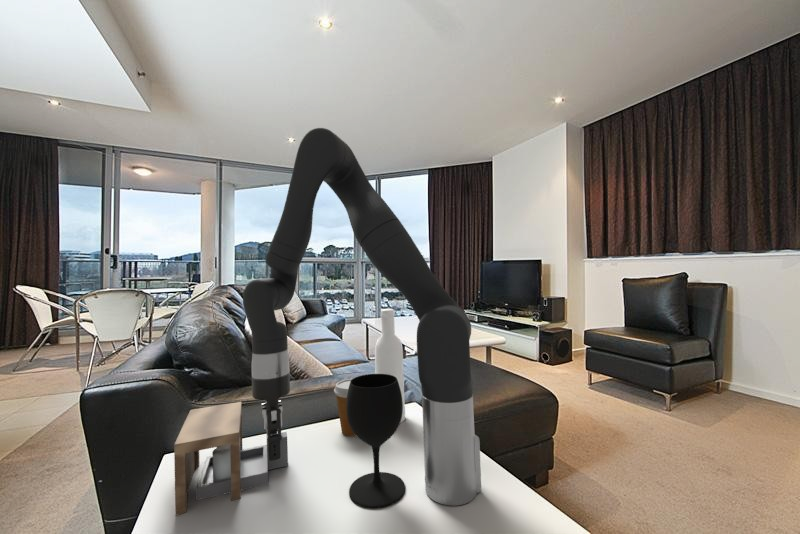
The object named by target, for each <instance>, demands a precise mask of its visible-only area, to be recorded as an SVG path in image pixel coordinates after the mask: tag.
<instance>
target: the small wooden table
mask: <svg viewBox="0 0 800 534" xmlns="http://www.w3.org/2000/svg"><path fill="white" fill-rule="evenodd" d="M242 408H243V407H242V401H237V402H231V403H223V404H218V405H212V406H205V407H200V408H194V409H190V410H189V413H188V415H187V416H186V419H185V420H184V422H183V425H182V426H181V429H180V431H179V433H178V436H177V438H176V439H175V440H176V441H175V442H174V444H173V445H174V447H173V449H174V450H173V451H174V452H173V453H174V457H173V458H174V460H173V461H174V503H175V506H174V508H175V509H174V512H175V516H178V515H177V514H179V515H182V514H186V513H187V510H188V491H189V488H190V486H191V481H192V477H193V476H194V471H195V468H199V466H200V451H202V450H208V449H211V448H212V449H213V448H217V447H218V446H223V445H228V444H230V459H231V492H230V496H231V497H230V499H231V501H236V500H240V499H241V496H242V495H241V493H242V490H241V479H240V450H243V417H242V416H243V412H242Z"/></svg>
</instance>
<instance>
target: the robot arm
mask: <svg viewBox="0 0 800 534" xmlns="http://www.w3.org/2000/svg"><path fill="white" fill-rule="evenodd" d="M292 168H293V169H292V174H291V178H290V181H289V184H288V190H287V194H286V198H285V199H286V200H285V203H284V206H283V210H282V213H281V216H280V219H279V222H278V225H277V228H276V230H275V232H274V235H273V238H272V240H271V241H270V244H269V247H268V249H267V252H266V255H265V263H266V265H267V266H268V267H269V268H271V271H270V275H269V277H268V278H267V277H266V278H254V279H252V280H250V281H249V282H247V285H245V287H244V290H243V293H242V304H243V309H244V313H245V316H246V319H247V323H248V325H249V328H250V331H251V347H252V350H251V352H252V355H251V356H252V357H251V395H252V398H253V399H254V400H258V401H264V402H263V403H261V412H262V415H261V416H262V419H263V425H264V426H263V428H264V431H265V432H266V442H267V441H268V455H269V461H273V460H278V459H280V457H281V455H280V440H281V438H282V435H281V433H282V427H283V415H282V414H283V410H284V408H283V404H282V400H279V399H280V398H283V397H286V396H287V395H289V394H290V391H291V376H290V375H291V372H290V370H291V369H290V356H289V350H288V345H289V344H288V329H287V326H286V324H285V323H284V322H281V321H278V320H277V318H276V313H275V311H279V310H282V309H285V308H286V307H287V306H288V305H289V304H290V303H291V301H292V299H293V297H294V295H295V291H296V287H297V280H298V272H299V267H300V265H301V263H302V260H303V258H304V256H305V253H306V251H307V248H308V246H309V243H310V240H311V237H312V231H313V218H314V217H313V216H314V215H313V214H314V207H315V202H316V198H317V196H318V192H319V190H320V187H321V186H322V184H323V183H325V184H326V185H327V186H328V187H329V188H330V189H331V190H332V192H333V193H334V194H335V195H336V196H337V199H339V200H340V201H341V203H342V205H343V207H344V208H345V211H346V213H347V217H348V219H349V222H350V227H351V228H352V229H351V230H352V232H353V235H354V237H355V239H356V241H357V243H358V244H359V246H360V248H361V249H362V251H363V252H364V253H365V255H366V256H367V258H368V259H369V261H370V263H371V264H372V265H373V266H374V267H375V269H376V270H377V271H378V272H379V273H380V274H381V275H382V277H384V278H385V279H386V280H387V281H388V282H389V283H390V284H391V285H392V286H393V287H394V288H395V289H397V291H399V292H400V293H401V295H402V296H403V297H404V298H405V299H406V301H407V302H408V304H409V305H410V307H411V308H412V310H413V312H414V313H415V315H416V317H417V319H418V320H419V322H418V325H417V328H416V352H417V355H416V356H417V357H416V358H417V369H418V378H419V379H418V380H419V382H420V385H421V401H422V403H421V405H422V426H423V427H422V429H423V430H422V431H423V456H424V461H423V462H424V487H425V493H426V495H427V496H428V498H430V499H431V500H433V501H435V502H436V503H438V504H440V505H445V506H461V505H466V504H467V503H468V504H469V502H471V501H473V500H474V499H475V498H476V496H477V494H478V493H480V492H481V493H482V473H481V471H482V470H481V468H482V467H481V447H480V445H481V444H480V443H481V442H480V437H479V436H478V435H477V434H475V419H474V418H475V417H474V415H475V414H474V412H475V411H474V389H473V388H474V387H473V386H474V385H473V379H472V372H471V370H472V369H471V351H470V350H471V349H470V348H471V347H470V346H471V345H470V339H471V335H472V324H471V321H470V318H469V317H468V314H467V313H466V312H465V311H464V310H463V308H461V307H460V305H459V304H458V303H457V302H456V301H455V300H454V299H453V298H452V297H451V296H450V294H449V293H448V292H447V290H445V288H444V287H443V286H442V285H441V283H440V282H439V280H438V279H437V278H436V276H435V275H434V273H433V272H432V270H431V269H430V266H429V265H428V263H427V261H426V259H425V257H424V256H423V255H422V252H421V251H420V250H419V247H418V246H417V244H416V243H415V242H414V240H413V239H412V237H411V235H410V233H409V232H408V230H407V229H406V228H405V226H404V225H403V223H402V222H401V221H400V219H399V217H397V215H396V214H395V212H394V211H393V210H392V209H391V207H390V206H389V205H388V204H387V203H386V201H385V200H384V199H383V197H382V196H381V195H380V194H379V192H377V190H375V188H374V187H373V186H372V184H371V183H370V181H369V179H368V178H367V175H366V174H365V172H364V170H363V169H362V167H361V165H360V163H359V161H358V159H357V157H356V156H355V154H354V152H353V150H352V148H351V147H350V146H349V145H348V143H346V142H345V141H344V140H342V139H341V138H340V136H338V134H336V133H334V132H333V131H331V130H330V129H328V128H326V127H314V128H313V129H310V130H309V131H308V132H307V133H305V135H304V136H303V137H302V139H301V141H300V143H299V146H298V148H297V152H296V156H295V161H294V164H293V167H292ZM277 433H278V434H277ZM272 434H274V435H272Z"/></svg>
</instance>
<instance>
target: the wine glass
mask: <svg viewBox="0 0 800 534" xmlns="http://www.w3.org/2000/svg"><path fill="white" fill-rule="evenodd" d="M351 379H352V380H351V381H350V385H349V389H348V393H347V400H346V413H347V419H348V423H349V425H350V427H351V429H352V431H353V432H354V433H355V435H356V436H355V437H357V438H358V439H359V440H361V442H363V443H365V444H366V445H368V446H370V447H371V450H372V456H373V472H371V473H366V474H363V475H362V476H359V477H358V478H356V479H355V480H354V481H353V482H352V483H351V485H350V486H349V489H348V495H349V499H350V501H352V502H353V503H354V504H355V505H356V506H358V507H361V508H365V509H371V510H372V509H373V510H375V509H383V508H387V507H390V506H392V505H394V504H396V503H397V502H399V501H400V500H401V499H402V498H403V496H404V495H405V494H406V484H405V482H404V481H403V479H402V478H401V477H400V476H398V475H396V474H393V473H391V472H384V471H380V449H381V446H383V444H385V443H386V442H388V441H389V439H390V438H391V437H393V436H394V435H395V433H396V432H397V430H398V429H399V426H400V424H401V423H400V421H401V418H402V412H403V402H402V395H401V390H400V386H399V383H398V380H397V378H396V377H395V376H392V375H388V374H375V373H369V374H363V375H359V376H358V375H357V377H354V378H351Z"/></svg>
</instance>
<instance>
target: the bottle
mask: <svg viewBox="0 0 800 534" xmlns="http://www.w3.org/2000/svg"><path fill="white" fill-rule="evenodd" d="M380 320H381V322H380V325H381V326H380V329H381V334H380V337H378V338H377V340H376V343H375V346H374V374H388V375H392V376H395V377H396V378H397V380H398V383H399V386H400V390H401V395H402V402H403V412H402V418H401V421H400V424H401V423H403V422H404V421H405V419H406V406H405V377H404V375H405V373H404V354H403V353H404V351H403V348H404V347H403V344H402V341H401V338H399V337H398V336H397V334H395V310H394V309H393V308H384V309H380Z"/></svg>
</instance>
